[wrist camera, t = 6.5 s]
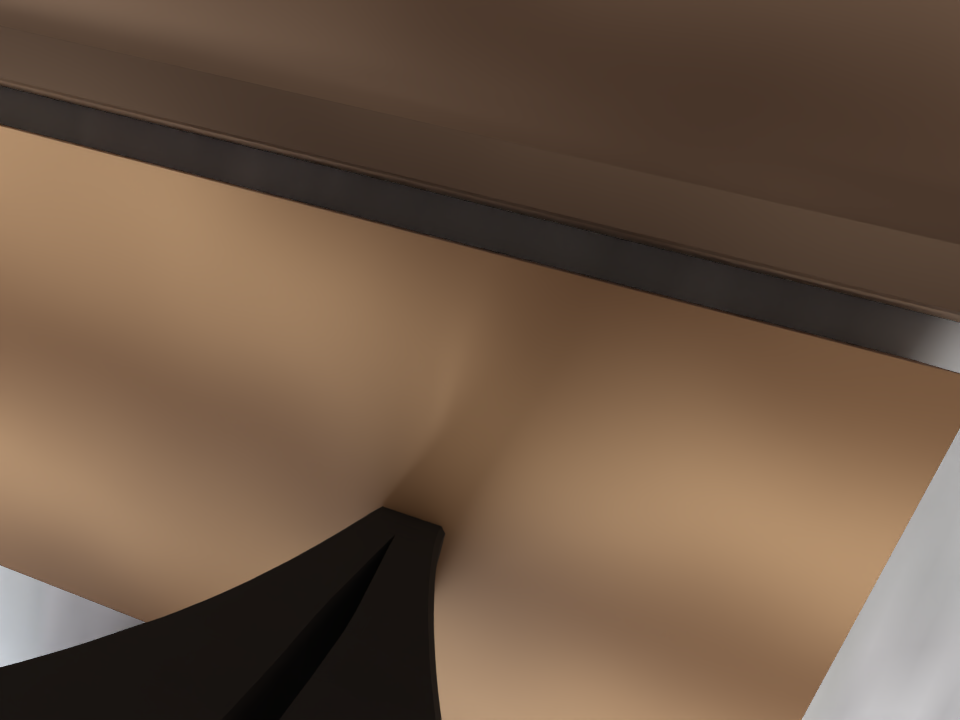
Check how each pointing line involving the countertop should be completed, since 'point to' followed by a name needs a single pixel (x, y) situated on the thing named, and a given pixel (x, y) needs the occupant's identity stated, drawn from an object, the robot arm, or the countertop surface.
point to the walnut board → (572, 113)
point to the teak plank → (443, 440)
